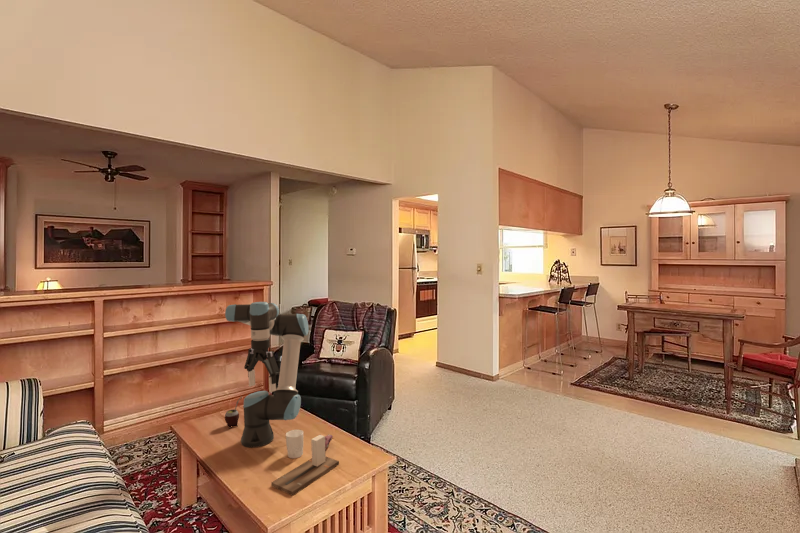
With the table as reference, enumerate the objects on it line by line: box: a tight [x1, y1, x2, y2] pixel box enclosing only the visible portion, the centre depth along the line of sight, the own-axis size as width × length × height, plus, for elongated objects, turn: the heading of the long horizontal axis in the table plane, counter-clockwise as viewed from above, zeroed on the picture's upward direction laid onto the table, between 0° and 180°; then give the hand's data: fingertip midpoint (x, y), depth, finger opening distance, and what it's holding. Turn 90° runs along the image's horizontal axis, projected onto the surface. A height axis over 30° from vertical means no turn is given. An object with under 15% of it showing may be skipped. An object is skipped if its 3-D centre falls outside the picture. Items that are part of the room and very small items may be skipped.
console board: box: [271, 455, 340, 497], centre depth 166 cm, size 12×26×2 cm, turn 146°
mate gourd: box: [224, 396, 243, 428], centre depth 216 cm, size 8×8×15 cm
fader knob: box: [310, 434, 326, 466], centre depth 172 cm, size 3×5×11 cm, turn 146°
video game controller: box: [324, 434, 334, 450], centre depth 189 cm, size 10×5×7 cm, turn 170°
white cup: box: [285, 429, 304, 459], centre depth 183 cm, size 8×8×10 cm
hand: (262, 388), depth 171 cm, fingers open, 13 cm apart
